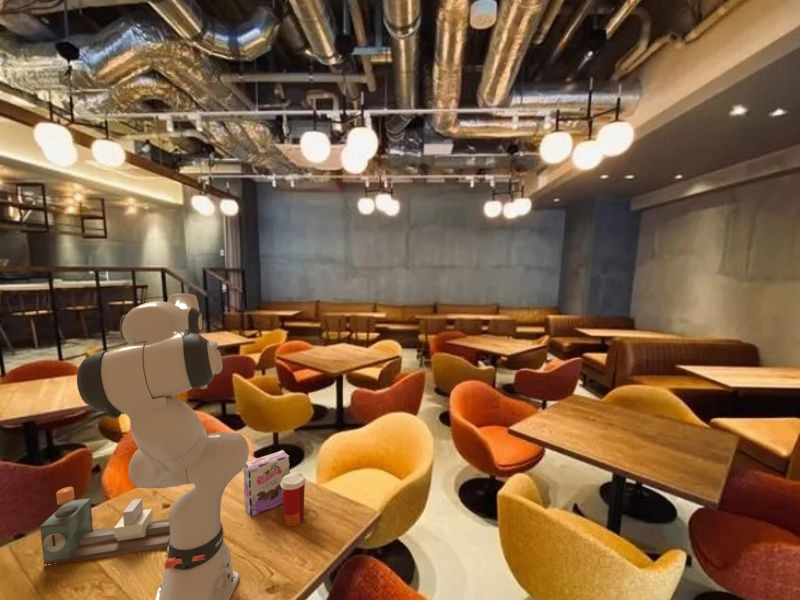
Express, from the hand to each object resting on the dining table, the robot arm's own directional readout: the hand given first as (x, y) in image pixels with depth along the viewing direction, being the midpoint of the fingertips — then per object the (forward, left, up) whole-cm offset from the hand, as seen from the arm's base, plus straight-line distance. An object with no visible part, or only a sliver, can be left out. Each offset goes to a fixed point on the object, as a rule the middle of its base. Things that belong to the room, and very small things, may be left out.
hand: (187, 389), depth 116 cm
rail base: (-7, +19, -42) cm, 47 cm away
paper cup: (-9, -31, -43) cm, 54 cm away
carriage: (-7, +14, -40) cm, 43 cm away
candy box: (+1, -22, -43) cm, 48 cm away
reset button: (-7, +31, -28) cm, 42 cm away
